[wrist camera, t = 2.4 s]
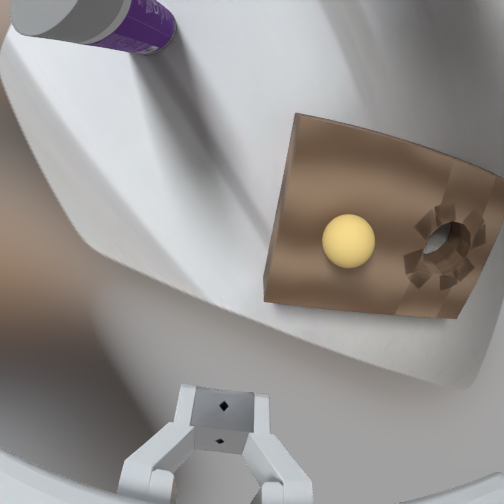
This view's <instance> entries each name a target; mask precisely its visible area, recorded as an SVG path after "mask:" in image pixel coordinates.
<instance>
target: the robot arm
mask: <svg viewBox="0 0 504 504" xmlns="http://www.w3.org/2000/svg"><path fill="white" fill-rule="evenodd" d="M269 403H270V402H269V395H268V394H259V393H252V392H241V391H230V390H219V389H212V388H206V387H199V386H194V385H188V384H182V386H181V389H180V393H179V398H178V403H177V408H176V413H175V418H174V423H172V422H169V423H168V424H167V425H165V426H164V427H163V428H162V429H161V430H160V431H159V432H157V433H156V434H155V435H154V436H153V437H152V438H151V439H149V440H148V441H147V442H146V443H145V444H144V445H143V446H141V447H140V448H139V449H138V450H137V451H135V452H134V453H133V454H132V455H131V456H129V457H128V458H127V459H126V460H125V462H124V466H123V470H122V474H121V478H120V481H119V485H118V489H117V493H116V494H115V493H111V492H108V491H105V490H101V489H98V488H95V487H92V486H89V485H86V484H83V483H80V482H78V481H75V480H72V479H69V478H67V477H64V476H62V475H59V474H57V473H54V472H52V471H49V470H47V469H45V468H43V467H40V466H38V465H36V464H34V463H31V462H29V461H27V460H25V459H23V458H21V457H19V456H17V455H15V454H13V453H11V452H9V451H7V450H6V449H4V448H2V447H0V504H176V499H177V492H176V486H175V480H174V476H173V473H174V472H175V471H176V470H177V468H179V467H180V465H181V464H182V463H183V462H184V461H185V460H186V459H187V458H188V457H189V455H191V453H192V452H193V451H194V449H197V450H206V451H216V452H224V453H232V454H241V455H242V457H243V459H244V461H245V462H246V464H247V466H248V467H249V469H250V470H251V472H252V474H253V475H254V477H255V478H256V480H257V482H258V484H259V485H260V487H261V488H260V489H259V491H258V493H257V494H256V495H255V497H254V498H253V500H252V502H251V504H313V492H312V482H311V480H310V479H309V478H308V476H307V475H306V474H305V473H304V472H303V470H302V469H301V468H300V467H299V465H298V464H297V463H296V461H295V460H294V459H293V458H292V456H291V455H290V454H289V453H288V451H287V450H286V449H285V448H284V446H283V445H282V443H281V442H280V441H279V440H278V438H277V437H276V436H275V435H274V434H270V404H269ZM396 504H504V474H503V473H501V472H496V473H492V474H490V475H487V476H485V477H482V478H480V479H477V480H475V481H472V482H469V483H467V484H464V485H461V486H458V487H455V488H452V489H449V490H445V491H442V492H439V493H436V494H432V495H428V496H425V497H421V498H417V499H413V500H409V501H405V502H400V503H396Z"/></svg>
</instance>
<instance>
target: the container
mask: <svg viewBox="0 0 504 504" xmlns="http://www.w3.org/2000/svg"><path fill="white" fill-rule="evenodd" d="M10 18H11V22H12V25H13V27H14V28H15V30H16V31H17V32H19V33H20V34H22V35H25V36H31V37H39V38H47V39H54V40H60V41H66V42H72V43H77V44H83V45H90V46H97V47H103V48H109V49H114V50H120V51H125V52H130V53H135V54H140V55H150V54H154V53H157V52H159V51H161V50H162V49H164V48H165V47H166V46H167V45H168V44H169V43H170V42H171V40H172V39H173V37H174V34H175V31H176V21H175V18H174V16H173V15H172V13H171V12H170V11H169V10H168V9H166V8H165V7H164V6H163V5H161V4H160V3H159V2H157V1H156V0H11V6H10Z"/></svg>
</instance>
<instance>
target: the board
mask: <svg viewBox="0 0 504 504" xmlns="http://www.w3.org/2000/svg"><path fill="white" fill-rule="evenodd" d="M345 214H352V215H357V216H359V217H361V218H363V219H364V220H365V221H367V222H368V224H369V225H370V226H371V228H372V230H373V232H374V236H375V247H374V250H373V253H372V255H371V256H370V258H369V259H368V260H367V261H366V262H365V263H364V264H362V265H360V266H358V267H355V268H343V267H340V266H337V265H336V264H334V263H333V262H331V261H330V260H329V258H328V257H327V256H326V254H325V252H324V249H323V245H322V237H323V233H324V230H325V228H326V226H327V225H328V224H329V223H330V222H331V221H332V220H333V219H334V218H336V217H338V216H340V215H345ZM503 221H504V179H503V178H501V177H499V176H498V175H496V174H494V173H492V172H490V171H487V170H485V169H483V168H480V167H478V166H475V165H473V164H471V163H468V162H466V161H463V160H460V159H458V158H455V157H453V156H450V155H447V154H445V153H442V152H439V151H436V150H433V149H431V148H428V147H425V146H422V145H419V144H416V143H413V142H410V141H406V140H403V139H400V138H397V137H394V136H390V135H387V134H383V133H380V132H376V131H373V130H369V129H365V128H361V127H358V126H354V125H350V124H346V123H341V122H337V121H333V120H329V119H324V118H319V117H315V116H310V115H305V114H300V113H295V116H294V122H293V127H292V133H291V138H290V143H289V149H288V154H287V159H286V165H285V170H284V175H283V180H282V185H281V191H280V196H279V201H278V206H277V211H276V216H275V221H274V226H273V231H272V237H271V242H270V247H269V252H268V256H267V261H266V266H265V271H264V276H263V283H264V302H269V303H278V304H286V305H295V306H304V307H313V308H323V309H332V310H343V311H353V312H365V313H376V314H389V315H402V316H416V317H432V318H450V319H457V317H458V315H459V314H460V312H461V310H462V308H463V306H464V305H465V303H466V301H467V299H468V297H469V295H470V293H471V292H472V290H473V288H474V286H475V284H476V282H477V280H478V278H479V276H480V274H481V272H482V270H483V267H484V265H485V263H486V261H487V259H488V257H489V254H490V252H491V250H492V248H493V245H494V243H495V241H496V238H497V236H498V233H499V231H500V228H501V226H502V223H503ZM449 222H451V228H452V229H451V231H450V234H449V236H448V239H447V241H446V242H445V243H444V244H443V245H442V246H441V247H440V248H439V249H438V250H436V251H434V252H431V253H429V254H423V250H424V248H425V245H426V243H427V240H428V238H429V237H430V235H431V234H432V233H433V232H434V231H435V230H436V229H437V228H438V227H439V226H441V225H444V224H446V223H449Z"/></svg>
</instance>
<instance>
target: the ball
mask: <svg viewBox="0 0 504 504" xmlns="http://www.w3.org/2000/svg"><path fill="white" fill-rule="evenodd" d="M322 245H323V249H324V252H325V254H326V256H327V257H328V258H329V260H330V261H331V262H333V263H334V264H336V265H337V266H340V267H343V268H355V267H358V266H360V265H362V264H364V263H365V262H366V261H367V260H368V259H369V258H370V256H371V255H372V253H373V250H374V247H375V236H374V232H373V230H372V228H371V226H370V225H369V224H368V222H367V221H365V220H364V219H363V218H361V217H359V216H357V215H352V214H345V215H340V216H338V217H336V218H334V219H333V220H332V221H331V222H330V223H329V224H328V225H327V226H326V228H325V230H324V233H323V237H322Z"/></svg>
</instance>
